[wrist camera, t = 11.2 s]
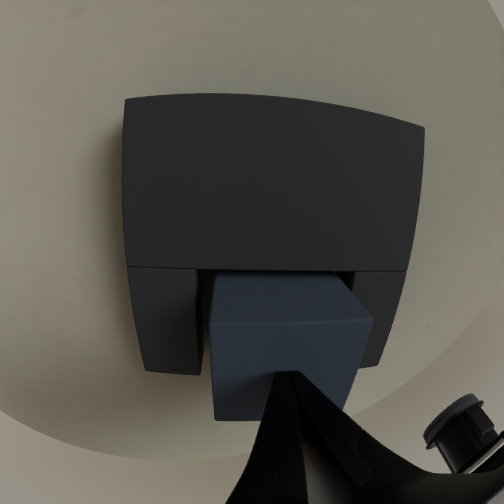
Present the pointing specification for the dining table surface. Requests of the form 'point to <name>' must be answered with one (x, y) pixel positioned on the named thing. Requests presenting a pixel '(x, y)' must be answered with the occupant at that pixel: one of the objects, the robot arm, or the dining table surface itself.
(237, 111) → the black arch block
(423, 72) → the dining table surface
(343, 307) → the navy rounded cube
